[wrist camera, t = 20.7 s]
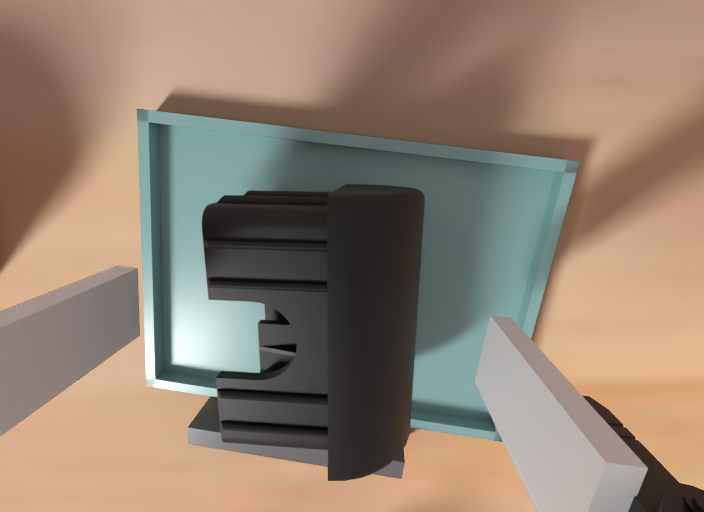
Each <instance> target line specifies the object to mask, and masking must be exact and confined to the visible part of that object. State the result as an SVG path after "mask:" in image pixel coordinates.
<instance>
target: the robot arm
mask: <svg viewBox="0 0 704 512" xmlns="http://www.w3.org/2000/svg"><path fill="white" fill-rule="evenodd" d="M138 336H140V324H139V294H138V268H132V267H124V266H115V267H113V268H110V269H108V270H105V271H103V272H100V273H97V274H95V275H92V276H90V277H87V278H85V279H82V280H79V281H77V282H74V283H72V284H69V285H67V286H64V287H61V288H59V289H56V290H54V291H51V292H49V293H46V294H43V295H41V296H38V297H36V298H33V299H31V300H28V301H25V302H23V303H20V304H18V305H15V306H13V307H10V308H7V309H5V310H2V311H0V436H2V435H3V434H4V433H6V432H7V431H8V430H10V429H11V428H13V427H14V426H15V425H17V424H18V423H19V422H21V421H22V420H24V419H25V418H26V417H28V416H29V415H31V414H32V413H33V412H35V411H36V410H37V409H39V408H40V407H42V406H43V405H44V404H46V403H47V402H48V401H50V400H51V399H53V398H54V397H55V396H57V395H58V394H60V393H61V392H62V391H64V390H65V389H66V388H68V387H69V386H71V385H72V384H73V383H75V382H76V381H77V380H79V379H80V378H82V377H83V376H84V375H86V374H87V373H88V372H90V371H91V370H93V369H94V368H95V367H97V366H98V365H100V364H101V363H102V362H104V361H105V360H106V359H108V358H109V357H111V356H112V355H113V354H115V353H116V352H117V351H119V350H120V349H122V348H123V347H124V346H126V345H127V344H128V343H130V342H131V341H133V340H134V339H135V338H137V337H138ZM475 383H476V385H477V388H478V390H479V392H480V394H481V396H482V398H483V400H484V402H485V405H486V407H487V409H488V411H489V413H490V415H491V417H492V419H493V421H494V424H495V426H496V428H497V430H498V432H499V434H500V436H501V438H502V441H503V443H504V445H505V447H506V449H507V451H508V453H509V455H510V458H511V460H512V462H513V464H514V466H515V468H516V470H517V472H518V475H519V477H520V479H521V481H522V483H523V485H524V487H525V489H526V491H527V494H528V496H529V498H530V500H531V502H532V504H533V506H534V508H535V511H536V512H704V491H703V490H701V489H699V488H696V487H694V486H691V485H686V484H682V483H679V482H678V481H677V480H676V479H675V478H674V477H673V476H672V475H671V474H670V473H669V472H668V471H667V470H666V469H665V468H664V467H663V466H662V464H661V463H660V462H659V461H658V460H657V459H656V458H655V457H654V456H653V455H652V454H651V453H650V452H649V451H648V450H647V449H646V448H645V447H644V446H643V445H642V444H641V443H640V442H639V441H638V440H635V437H634V436H633V434H632V433H631V432H630V431H629V430H628V429H627V428H624V427H623V424H622V423H621V422H620V421H619V420H618V419H617V418H616V417H615V416H614V415H613V414H612V413H611V412H610V411H609V410H608V409H607V408H605V407H604V406H602V405H601V404H599V403H598V402H596V401H595V400H594V399H592V398H591V397H589V396H582V395H581V394H580V393H579V392H578V391H577V390H576V389H575V387H574V386H573V385H572V384H571V383H570V382H569V381H568V380H567V379H566V378H565V376H564V375H563V374H562V373H561V372H560V371H559V370H558V369H557V368H556V367H555V365H554V364H553V363H552V362H551V361H550V360H549V359H548V358H547V357H546V356H545V354H544V353H543V352H542V351H541V350H540V349H539V348H538V347H537V346H536V345H535V343H534V342H533V341H532V340H531V339H530V338H529V337H528V336H527V335H526V334H525V332H524V331H523V330H522V329H521V328H520V327H519V326H518V325H517V324H516V323H515V321H514V320H513V319H512V318H508V317H500V316H493V315H490V318H489V322H488V326H487V331H486V335H485V339H484V343H483V348H482V352H481V356H480V361H479V365H478V369H477V373H476V378H475Z"/></svg>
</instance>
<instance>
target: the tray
mask: <svg viewBox="0 0 704 512" xmlns="http://www.w3.org/2000/svg"><path fill="white" fill-rule="evenodd" d="M137 122H138V151H139V181H140V210H141V240H142V270H143V299H144V329H145V359H146V386H149V387H156V388H162V389H169V390H175V391H181V392H188V393H194V394H200V395H207V396H213V397H217V386H216V377H217V376H218V374H219V373H220V372H221V371H235V372H252V373H260V355H259V338H258V323H259V321H260V320H265V304H262V303H258V302H248V301H225V300H209V299H208V289H207V278H206V267H205V256H204V245H203V234H202V215H203V212H204V209H205V208H206V206H207V205H209V204H212V203H216V202H218V201H219V199H221V198H222V197H223V196H224V195H244V194H245V193H246V192H247V191H249V190H254V191H303V192H333V191H335V190H336V189H338V188H340V187H342V186H344V185H345V184H367V185H387V186H400V187H408V188H414V189H418V190H420V191H422V192H423V194H424V196H425V207H424V222H423V238H422V253H421V269H420V284H419V299H418V315H417V330H416V346H415V361H414V377H413V392H412V408H411V423H410V427H411V428H418V429H424V430H430V431H437V432H443V433H449V434H456V435H462V436H469V437H475V438H481V439H488V440H494V441H501V442H503V441H502V438H501V436H500V434H499V432H498V430H497V428H496V426H495V424H494V421H493V419H492V417H491V415H490V413H489V411H488V409H487V407H486V405H485V402H484V400H483V398H482V396H481V394H480V392H479V390H478V388H477V385H476V383H475V378H476V373H477V369H478V365H479V361H480V356H481V352H482V348H483V343H484V339H485V335H486V331H487V326H488V322H489V318H490V315H493V316H500V317H508V318H512V319H513V320H514V321H515V323H516V324H517V325H518V326H519V327H520V328H521V329H522V330H523V331H524V332H525V334H526V335H527V336H528V337H529V338H530V339H531V338H532V335H533V331H534V327H535V324H536V320H537V316H538V313H539V309H540V305H541V302H542V298H543V294H544V291H545V287H546V283H547V280H548V276H549V272H550V269H551V265H552V261H553V258H554V254H555V250H556V247H557V243H558V240H559V236H560V232H561V229H562V225H563V221H564V218H565V214H566V210H567V207H568V203H569V199H570V196H571V192H572V188H573V185H574V181H575V177H576V174H577V170H578V166H579V163H580V161H572V160H564V159H555V158H547V157H538V156H530V155H522V154H513V153H505V152H496V151H488V150H480V149H471V148H463V147H454V146H446V145H438V144H429V143H421V142H412V141H404V140H396V139H387V138H379V137H370V136H362V135H354V134H345V133H337V132H328V131H320V130H312V129H303V128H295V127H286V126H278V125H270V124H261V123H253V122H244V121H236V120H228V119H219V118H211V117H202V116H194V115H186V114H177V113H169V112H161V111H152V110H144V109H137Z"/></svg>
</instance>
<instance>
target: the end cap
mask: <svg viewBox="0 0 704 512" xmlns="http://www.w3.org/2000/svg"><path fill="white" fill-rule="evenodd" d="M424 207H425V196H424V194H423V192H422V191H420V190H418V189H414V188H408V187H400V186H387V185H367V184H345V185H344V186H342V187H340V188H338V189H336V190H335V191H333V192H303V191H254V190H249V191H247V192H246V193H245V194H244V195H224V196H223V197H222V198H221V199H219V201H218V202H216V203H212V204H209V205H207V206H206V208H205V209H204V212H203V215H202V234H203V245H204V256H205V267H206V278H207V289H208V299H209V300H225V301H248V302H258V303H262V304H265V320H260V321H259V323H258V338H259V355H260V373H252V372H235V371H221V372H220V373H219V374H218V376H217V377H216V386H217V397H218V408H219V419H220V430H221V438H222V441H223V442H224V443H236V444H250V445H264V446H278V447H291V448H305V449H319V450H328V481H346V480H351V479H357V478H362V477H365V476H367V475H370V474H373V473H376V472H378V471H379V470H381V469H383V468H384V467H386V466H388V465H389V464H390V463H391V462H392V461H393V460H394V459H395V458H397V457H398V456H399V454H400V453H401V451H402V450H403V448H404V447H405V445H406V443H407V440H408V437H409V434H410V423H411V408H412V392H413V377H414V361H415V346H416V330H417V315H418V299H419V284H420V269H421V253H422V238H423V222H424Z"/></svg>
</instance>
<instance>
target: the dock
mask: <svg viewBox="0 0 704 512" xmlns="http://www.w3.org/2000/svg"><path fill="white" fill-rule="evenodd" d="M188 444H192V445H198V446H204V447H210V448H216V449H222V450H228V451H234V452H241V453H247V454H253V455H259V456H265V457H271V458H277V459H283V460H290V461H296V462H302V463H308V464H314V465H320V466H326V467H328V450H319V449H305V448H291V447H278V446H264V445H250V444H236V443H224V442H223V441H222V438H221V430H220V419H219V408H218V398H217V397H210V398H209V399H208V401H207V402H206V403H205V405H204V406H203V408H202V409H201V410H200V412H199V413H198V414H197V416H196V417H195V418H194V420H193V421H192V422H191V424H190V425H189V427H188ZM404 463H405V461H404V449H403V450H402V451H401V453H400V454H399V456H398V457H397V458H395V459H394V460H393V461H392V462H391V463H390V464H389V465H388V466H386V467H384V468H383V469H381V470H379V471H378V472H376V473H373V474H375V475H381V476H387V477H393V478H400V479H402V474H403V468H404Z"/></svg>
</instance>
